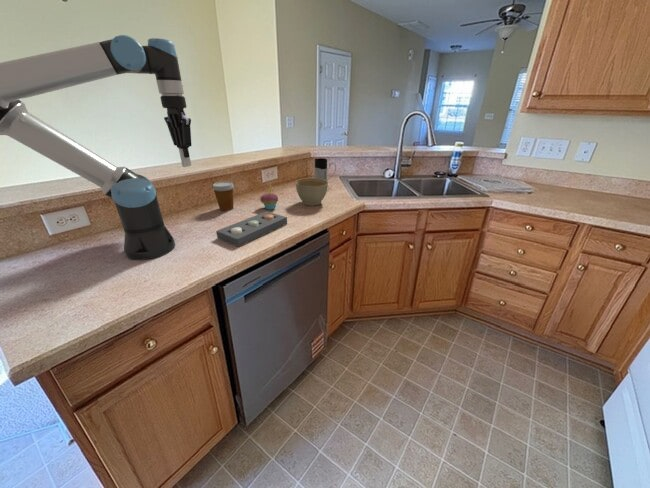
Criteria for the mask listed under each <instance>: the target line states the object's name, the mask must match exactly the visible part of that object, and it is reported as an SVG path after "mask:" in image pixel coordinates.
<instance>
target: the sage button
mask: <svg viewBox="0 0 650 488" xmlns="http://www.w3.org/2000/svg"><path fill="white" fill-rule="evenodd" d="M248 225H249V226H251V227H255V226H257V225H259V222H258V221H256V220H253V221H249V222H248Z"/></svg>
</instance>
